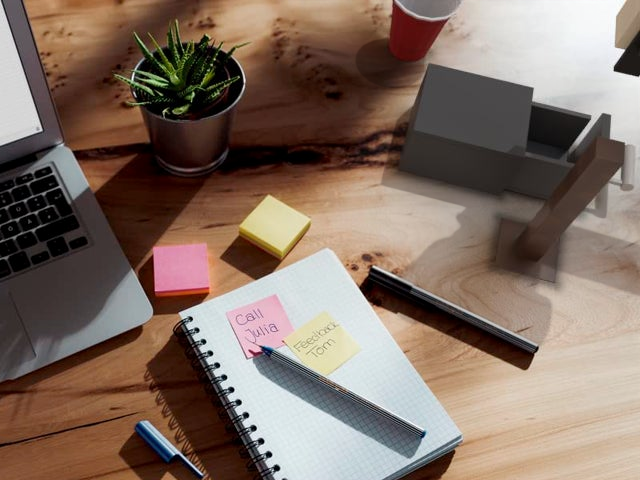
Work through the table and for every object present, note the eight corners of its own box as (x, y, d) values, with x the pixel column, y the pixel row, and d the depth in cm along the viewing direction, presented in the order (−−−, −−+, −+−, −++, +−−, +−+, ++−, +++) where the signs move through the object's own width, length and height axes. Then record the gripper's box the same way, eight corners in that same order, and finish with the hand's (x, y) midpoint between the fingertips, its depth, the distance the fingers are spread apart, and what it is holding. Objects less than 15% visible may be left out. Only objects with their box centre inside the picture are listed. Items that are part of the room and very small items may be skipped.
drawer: (616, 159, 96) (647, 123, 89) (612, 222, 91) (645, 189, 84) (491, 129, 98) (512, 91, 91) (481, 189, 93) (503, 153, 86)
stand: (556, 237, 91) (649, 130, 71) (551, 286, 88) (648, 188, 68) (498, 222, 92) (575, 112, 72) (491, 270, 88) (569, 168, 69)
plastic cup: (394, 86, 103) (415, 23, 92) (361, 40, 107) (377, -26, 96) (453, 67, 105) (481, 3, 94) (418, 22, 109) (440, -44, 98)
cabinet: (506, 134, 99) (534, 87, 90) (496, 200, 94) (524, 157, 85) (411, 110, 101) (429, 62, 92) (395, 174, 95) (413, 129, 86)
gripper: (736, -241, 57) (596, -8, 77) (747, -119, 49) (588, 104, 70) (827, -225, 56) (661, 7, 77) (853, -98, 48) (660, 121, 69)
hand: (627, 53), depth 73 cm, fingers closed on block, 5 cm apart
